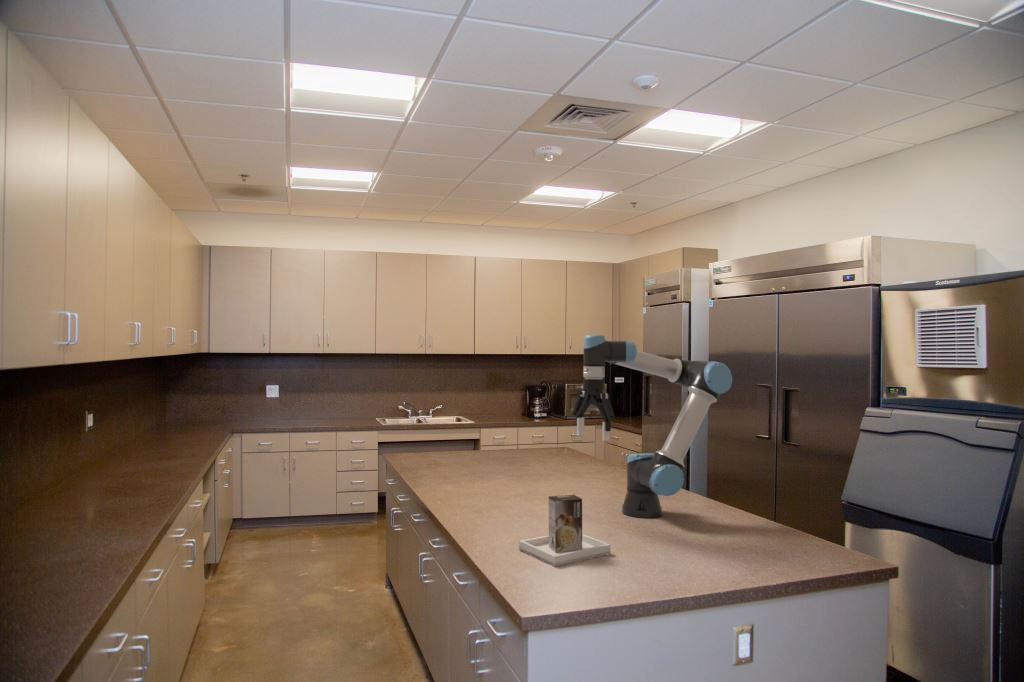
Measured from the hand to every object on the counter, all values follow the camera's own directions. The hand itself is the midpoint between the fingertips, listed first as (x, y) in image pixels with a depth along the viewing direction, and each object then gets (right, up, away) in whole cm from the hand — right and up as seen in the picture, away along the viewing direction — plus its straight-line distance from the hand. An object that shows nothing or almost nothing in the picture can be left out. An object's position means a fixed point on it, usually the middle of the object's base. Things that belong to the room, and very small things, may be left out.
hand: (592, 438), depth 233 cm
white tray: (-12, -31, -29) cm, 44 cm away
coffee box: (-12, -31, -28) cm, 44 cm away
